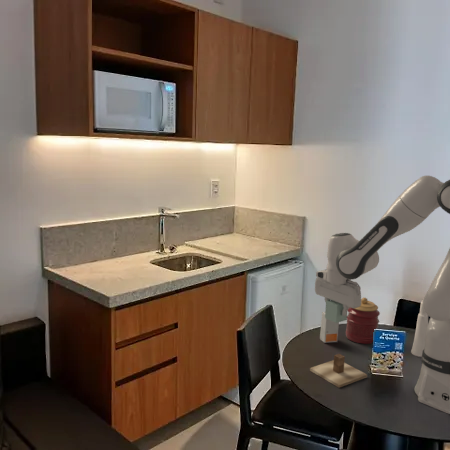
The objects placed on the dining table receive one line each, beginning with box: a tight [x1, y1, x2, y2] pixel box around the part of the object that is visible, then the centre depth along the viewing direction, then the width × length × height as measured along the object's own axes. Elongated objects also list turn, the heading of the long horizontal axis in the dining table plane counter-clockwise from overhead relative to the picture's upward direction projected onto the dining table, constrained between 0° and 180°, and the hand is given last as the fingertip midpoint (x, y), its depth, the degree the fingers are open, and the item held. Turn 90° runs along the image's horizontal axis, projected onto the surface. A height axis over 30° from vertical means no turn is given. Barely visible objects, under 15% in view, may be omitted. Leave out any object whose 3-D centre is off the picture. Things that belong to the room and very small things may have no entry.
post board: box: [309, 353, 368, 389], centre depth 171 cm, size 14×14×7 cm
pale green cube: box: [324, 300, 348, 323], centre depth 180 cm, size 6×6×7 cm
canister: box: [345, 297, 381, 345], centre depth 202 cm, size 13×13×18 cm
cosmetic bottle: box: [410, 298, 429, 358], centre depth 188 cm, size 6×6×22 cm
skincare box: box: [319, 311, 340, 344], centre depth 198 cm, size 6×4×12 cm
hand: (336, 312), depth 180 cm, fingers closed on pale green cube, 6 cm apart
